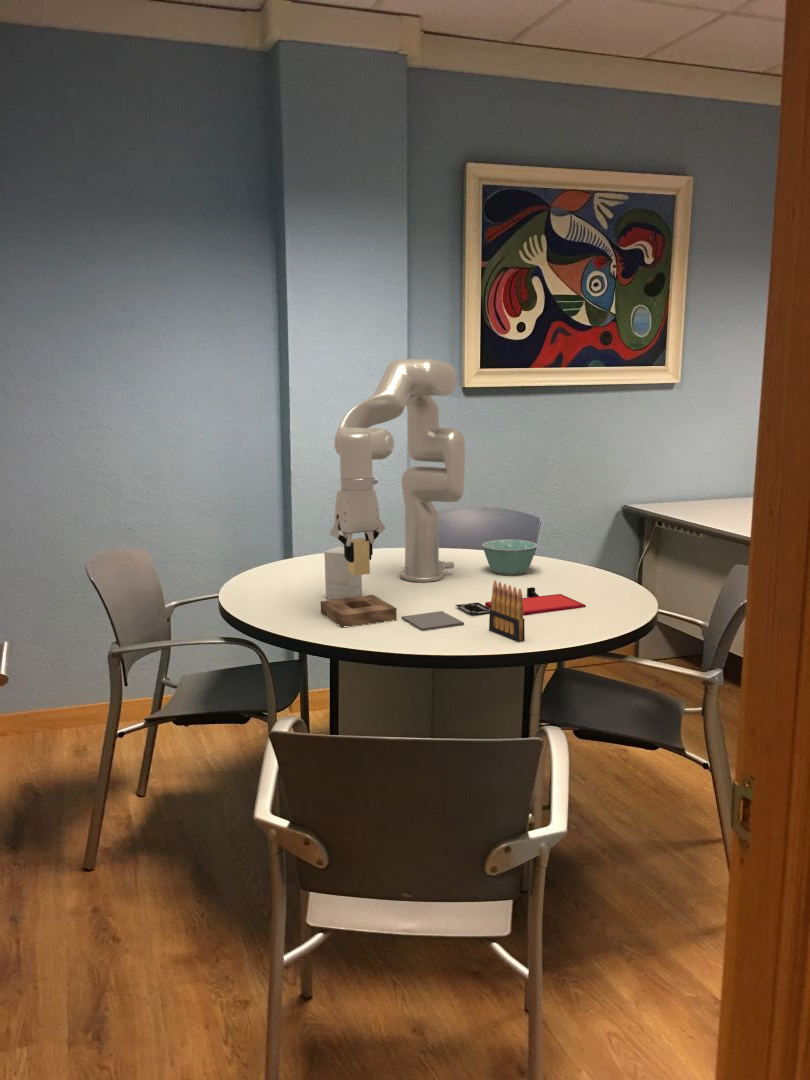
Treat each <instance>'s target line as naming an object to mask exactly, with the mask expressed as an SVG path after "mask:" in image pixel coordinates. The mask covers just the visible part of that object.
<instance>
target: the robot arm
mask: <svg viewBox="0 0 810 1080" xmlns="http://www.w3.org/2000/svg"><path fill="white" fill-rule="evenodd" d="M457 380H458V379H457V373H456V370H455V368H454V366H452V365H451V364H450V363H447V362H443V361H439V360H434V359H428V358H427V359H425V358H413V359H412V358H402V359H401V358H400V359H395V360H393V361H391V362H390V363H389V364H388V366H387V368H386V369H385V371H384V372H383V375H382V378H381V380H380V381H379V383H378V386H377V387H376V389H375V392H374V393H373V395H372V396H370V397H368V398H366V399H365V400H364V401H362V402H360V403H359V404H357V405H355V406H354V407H353V408H352V409H350V410H349V411H348V412H347V413H346V414H345V415H344V416H343V418H342V420H341V423H340V424H339V427H338V428H337V431H336V434H335V437H334V449H335V452H336V454H338V456H339V462H340V464H339V467H340V471H339V472H340V489H339V490H337V492H336V497H335V498H336V499H335V504H334V506H335V507H334V524H333V526H332V528H331V530H330V532H329V535H330V536H331V537H333V538H335V539H337V540H338V541H340V543H342V544H343V547H344V556H345V558H346V560H347V561H349V562H350V563H351V562H353V546H351V540H352V539H353V534H359V533H363V536H364V539H366V540H368V541H369V556H370V561H372V556H373V553H374V552H373V544H374V543H375V540H377V538H378V537H379V536H380V535H381V534H382V533H383V532H384V531H385V530H386V526H385V525H384V524H383V521H381V519H380V510H379V509H380V508H379V502H378V496H377V491H376V489H374V485H376V484H378V483H379V480H378V478H375V477H374V476H373V460H374V461H377V460H379V461H380V460H384V459H387V458H388V457H390V455H391V454H392V452H393V450H394V447H395V440H394V437H393V435H392V433H391V432H390V431H388V430H387V429H384V428H377V427H374V426H376V425H380V424H384V423H387V422H389V421H392V420H395V419H397V418H399V417H400V416H401V415H402V414H403V412H404V411H405V408H407V452H408V455H409V457H410V459H412V460H413V461H416V462H417V461H418V462H427V463H444V466H445V467H442V466H441V467H439V466H426V465H424V466H422V465H420V466H419V465H418V466H416V465H415V466H412V467H409V468H407V469H405V471H404V472H403V474H402V475H401V489H402V495H403V502H404V504H403V505H404V522H405V523H404V525H405V526H404V539H405V540H404V553H405V554H404V559H405V560H404V561H405V562H404V566H405V567H404V569H405V570H401V571H400V572H399V578H400V579H401V580H404V581H409V582H414V583H424V582H425V583H427V582H428V583H429V582H437V581H440V580H443V579H444V577H445V573H444V570H446V569H447V570H450V569H454V567H455V563H454V561H447V562H446V561H442V560H440V559H439V558H440V556H439V555H440V554H439V552H440V551H439V550H440V549H439V548H440V547H439V546H440V542H439V541H440V535H439V534H440V531H439V530H440V523H439V522H440V517H439V513H438V511H437V509H436V507H435V506H434V504H433V502H436V503H437V502H438V503H439V502H441V503H456V502H459V501H460V500H461V499H462V496H463V494H464V489H465V472H466V471H465V470H466V469H465V468H466V467H465V466H466V465H465V463H466V443H465V442H466V441H465V438H464V435H463V433H462V432H461V430H459V429H457V428H453V427H440V425H439V424H440V423H439V422H440V420H439V418H440V417H439V415H440V411H439V406H438V405H437V403H436V400H434V398H433V397H436V396H438V397H446V396H450V395H451V394H452V393H453V392H454V391H455V389H456V386H457V382H458V381H457ZM339 532H341V533H342V534H341V533H339Z"/></svg>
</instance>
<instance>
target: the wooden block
mask: <svg viewBox="0 0 810 1080" xmlns="http://www.w3.org/2000/svg"><path fill="white" fill-rule="evenodd" d="M351 546H353V562H351V563H350V562H349V561H348V572H349V573H351V574H352V575H354V576H356V575H362V576H363V575H369V574H371V569H370V568H371V567H370V565H371V563H370V562H371V560H370V556H369V541H368V540H366V539H365V537H364V538H363V537H359V538H352V540H351Z"/></svg>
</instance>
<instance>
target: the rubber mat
mask: <svg viewBox="0 0 810 1080" xmlns="http://www.w3.org/2000/svg"><path fill="white" fill-rule="evenodd" d="M400 618H401V620H402V619H403V620H402V621H404V622H406V623H407V622H408V624H409V623H410V625H411V626H412V627H414V628H417V629H418V630H420V631H421V632H424V631H431V630H437V629H446V628H451V627H459V626H464V625H465V622H464V621H462V620H460V619H458V618H456V617H455V616H453V615H451V614H449V613H447V612H444V610H443V611H442V610H437V611H432V612H425V613H415V614H409V615H403V616H401V617H400Z"/></svg>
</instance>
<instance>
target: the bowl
mask: <svg viewBox="0 0 810 1080" xmlns="http://www.w3.org/2000/svg"><path fill="white" fill-rule="evenodd" d="M481 546H482V549H483V552H484V555H485V557H486V561H487V563H488V566H489V568H490V570H491V571H493V572H494V573H495V574H497V575H503V576H504V575H505V576H517V575H522V574H524V573H526V571H528V570H529V569H530V566H531V564H532V562H533V559H534V556H535V553H536V550H537V547H538V545H537V543H535V542H534V541H533V542H532V541H529V540H522V539H497V540H496V539H494V540H490V541H489V540H488V541H486V542H483V543H482V545H481Z"/></svg>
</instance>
